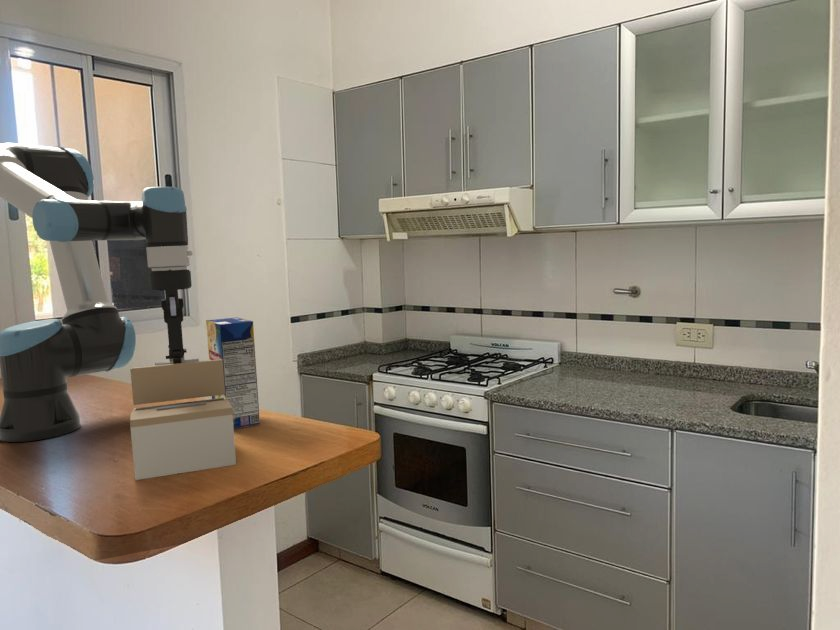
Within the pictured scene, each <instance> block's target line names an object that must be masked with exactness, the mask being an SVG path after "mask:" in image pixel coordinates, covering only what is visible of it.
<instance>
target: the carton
mask: <svg viewBox="0 0 840 630" xmlns="http://www.w3.org/2000/svg"><path fill="white" fill-rule="evenodd" d="M129 425H130V435H131V436H130V437H131V449H132V458H133V470H134V472H133V473H134V480H135V481H139V480H145V479H153V478H159V477H165V476H166V477H167V476H171V475H177V474H178V473H179V474H184V473H190V472H196V471H203V470H209V469H210V470H211V469H216V468H224V467H230V466H235V465H236V466H237V459H236V458H237V457H236V447H235V446H236V444H235V431H234V430H235V429H234V428H233V415H232V407H231V405H230V402H229V400H226V399H225V398H218V399H212V398H210V399H203V400H202V399H201V400H193V401H186V402H177V403H169V404H168V403H167V404H160V405H152V406H144V407H136V408H133V410H131V413H130V417H129ZM179 474H178V475H179Z"/></svg>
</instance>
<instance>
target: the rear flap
mask: <svg viewBox="0 0 840 630" xmlns="http://www.w3.org/2000/svg"><path fill="white" fill-rule="evenodd" d="M130 380H131V392H132V402H133V406H137V405H138V406H139V405H145V404H153V403H163V402H171V401H180V400H188V399H189V400H190V399H197V398H205V397H208V398H209V397H212V396H216V395H225V385H224V371H223V360H222V359H219V360H209V359H207V360H200V359H199V358H192V359H185V363H177V364H170V361H160V362H158V361H157V362H154V365H150V366H149V365H148V366H139V367H130Z"/></svg>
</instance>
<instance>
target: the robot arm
mask: <svg viewBox="0 0 840 630" xmlns="http://www.w3.org/2000/svg"><path fill="white" fill-rule="evenodd" d="M93 173H94V172H93V170H92V166H91V165H90V162H89V160H88V159H87V158H86V156H85V155H84V154H83V153H81V152H79V151H78V150H76V149H73V148H65V147H63V146H54V147H53V146H45V145H35V144H33V145H32V144H22V143H15V142H4V143H1V142H0V201H1V200H2V201H6V202H7V203H8V204H10V205H12V206H13V207H14V208H16V209H17V210H19V211H20V212H22V213H23V214H25V215H26V216H28V217H29V218H31V219H32V226H33V228H34V231H35V232H36V234H37V236H38V237H39V238H40V239H41V240H44V241H47V242H49V245H50V249H51V253H52V256H53V257H52V258H53V261H54V265H55V268H56V271H57V275H58V280H59V283H60V288H61V292H62V295H63V296H62V297H63V299H64V304H65V308H66V313H65V314H64V315H63V317H62V318H61V320H60V319H58V318H47V319H40V320H34V321H28V322H25V323H24V322H23V323H19V324H15V325H13V326H12V325H11V326H9V327H7V328H4V329H3V330H1V332H0V374H1V383H2V384H1V385H2V393H3V404H2V408H1V412H0V441H1V442H8V443H11V442H12V443H19V442H21V443H22V442H24V443H25V442H33V441H38V440H39V441H40V440H46V439H51V438H55V437H59V436H62V435H66V434H69V433H72V432H74V431H76V430H78V429H79V428H80V427H81V420H80V414H79V412H78V410H77V408H76V406H75V405H74V402H73V400H72V398H71V395H70V394H69V391H68V381H67V378H73V377H80V376H84V375H91V374H95V373H96V374H97V373H101V372H106V373H107V372H111V371H113V370H117V369H120V368H124V367H126V366H127V365H129V363H130V362H131V360H132V359H133V357H134V353H135V351H136V345H137V343H136V342H137V340H136V339H137V338H136V330H135V326H134V324H133V323H132V322H131V320H130V319H129V318H127V317H125V316H120V313H119V309H118V308H117V307H116V306H115V305H113V304H111V303H109V299H108V295H107V292H106V288H105V285H104V281H103V277H102V274H101V273H102V272H101V269H100V265H99V262H98V258H97V254H96V250H95V247H94V243H93V241H126V242H127V241H128V242H129V241H130V242H131V241H134V242H137V241H141V240H145V242H146V248H145V249H146V259H147V260H146V261H147V267H148V268H149V269H151V271H149V272H148V282H149V288H150V290H151V291H154V292H155V291H156V292H157V291H158V292H159V291H160V292H162V291H164V292H165V293H164V294H165V299H161V301H160V302H161V303H160V304H161V310H162V311H163V320H164V323H166V325H167V338H168V346H167V348H168V355H165V360H169V361H170V364H177V363H185V360H186V359H185V354H186V353H187V348H184V342H183V341H184V340H183V339H184V338H183V329H182V327H183V326H182V323H183V322H184V312H183V311H184V310H183V309H184V306H185V305H184V299H183V297H181V298H179V291H180V290H188V289H190V288H192V274H191V270H190V269H187V267H190V264H191V263H190V257H191V256H193V251H192V250H188V249H189V234H188V233H189V232H188V216H187V206H186V201H185V200H186V199H185V193H184V191H183V190H182V189H181V188H180V187H173V186H151V187H150V186H148V187H145V188H144V189H143V190H142V191H141V192H142V193H141V195H142V196H141V200H140V201H139V200H138V201H123V200H122V201H121V200H120V201H119V200H117V201H116V200H115V201H114V200H113V201H112V200H89V197H90V196H91V195H92V194H93V192H94V186H95V185H94V182H93V181H94V180H95V179H94V174H93ZM169 361H168V362H169Z"/></svg>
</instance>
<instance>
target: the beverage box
mask: <svg viewBox="0 0 840 630" xmlns="http://www.w3.org/2000/svg"><path fill="white" fill-rule="evenodd" d="M205 322H206V323H205V325H206V326H205V327H206V337H207V339H206V340H207V350H208V351H207V353H208V360H219V359H222V360H223V371H224V385H225V395H216V396H211V399H218V398H225V399H226V400H229V402H230V405H231V407H232V415H233V428H234V430H236V429H242V427H243V428H248V427H253V426H252V425H254V426H258V425H257V424H259V425H261V422H260V421H261V420H260V408H259V405H260V404H259V392H258V390H259V389H258V376H257V374H258V373H257V363H256V359H257V358H256V348H255V347H256V346H255V333H254V332H255V331H254V321H253V320H249V319H245V318H242V317H237V316H236V317H229V318H219V319H218V318H217V319H215V318H214V319H207V320H205ZM247 426H248V427H247Z"/></svg>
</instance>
